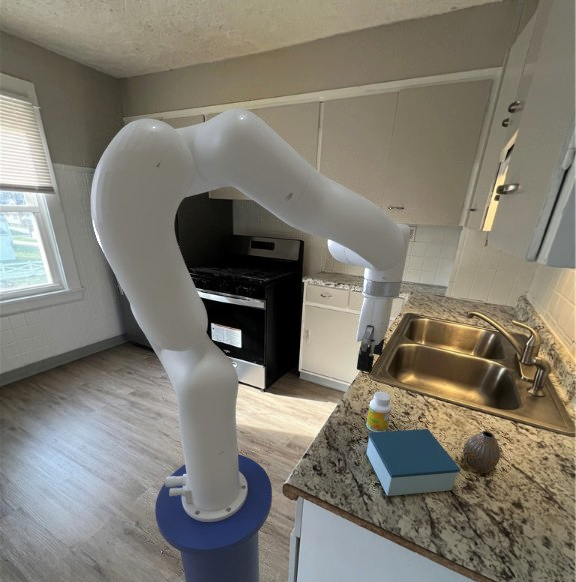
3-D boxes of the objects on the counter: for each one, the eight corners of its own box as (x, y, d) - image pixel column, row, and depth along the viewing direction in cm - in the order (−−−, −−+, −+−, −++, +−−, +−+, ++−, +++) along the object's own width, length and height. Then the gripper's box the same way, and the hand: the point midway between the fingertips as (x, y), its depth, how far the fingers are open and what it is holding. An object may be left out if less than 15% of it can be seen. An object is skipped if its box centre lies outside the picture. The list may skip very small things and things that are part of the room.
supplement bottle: (361, 425, 83) (366, 394, 78) (374, 417, 86) (379, 387, 82) (378, 436, 79) (385, 404, 75) (391, 427, 82) (397, 396, 78)
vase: (474, 450, 75) (484, 421, 71) (501, 471, 69) (514, 440, 66) (453, 458, 73) (463, 428, 69) (479, 480, 67) (492, 448, 63)
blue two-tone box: (386, 497, 62) (391, 475, 60) (365, 452, 74) (368, 432, 71) (453, 490, 64) (460, 469, 62) (422, 448, 75) (427, 428, 73)
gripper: (373, 277, 73) (363, 345, 80) (350, 294, 59) (341, 373, 66) (406, 282, 70) (393, 351, 77) (391, 300, 56) (377, 383, 63)
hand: (369, 361), depth 72 cm, fingers open, 9 cm apart
